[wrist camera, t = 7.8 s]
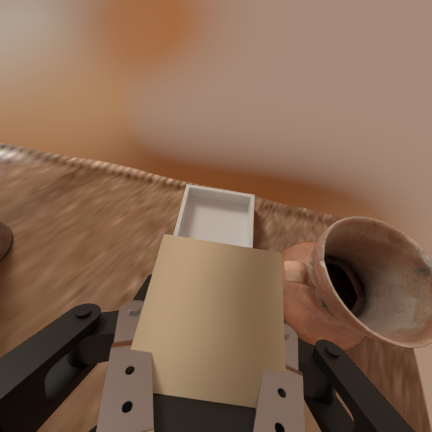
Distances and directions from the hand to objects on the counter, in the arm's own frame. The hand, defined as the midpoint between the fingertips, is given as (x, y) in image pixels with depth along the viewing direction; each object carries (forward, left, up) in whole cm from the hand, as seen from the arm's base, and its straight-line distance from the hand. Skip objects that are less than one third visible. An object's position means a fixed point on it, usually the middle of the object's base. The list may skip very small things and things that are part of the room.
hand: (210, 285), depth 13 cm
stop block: (0, -2, -4) cm, 5 cm away
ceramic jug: (+17, +5, -18) cm, 25 cm away
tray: (0, +13, -18) cm, 22 cm away
